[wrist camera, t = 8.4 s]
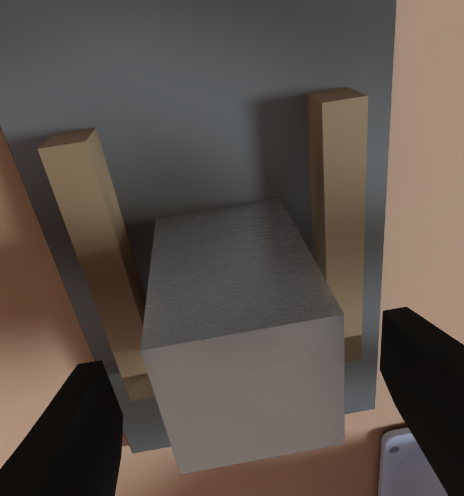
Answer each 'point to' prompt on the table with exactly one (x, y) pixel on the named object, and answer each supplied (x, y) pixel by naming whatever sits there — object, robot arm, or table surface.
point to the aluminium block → (241, 338)
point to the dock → (199, 150)
